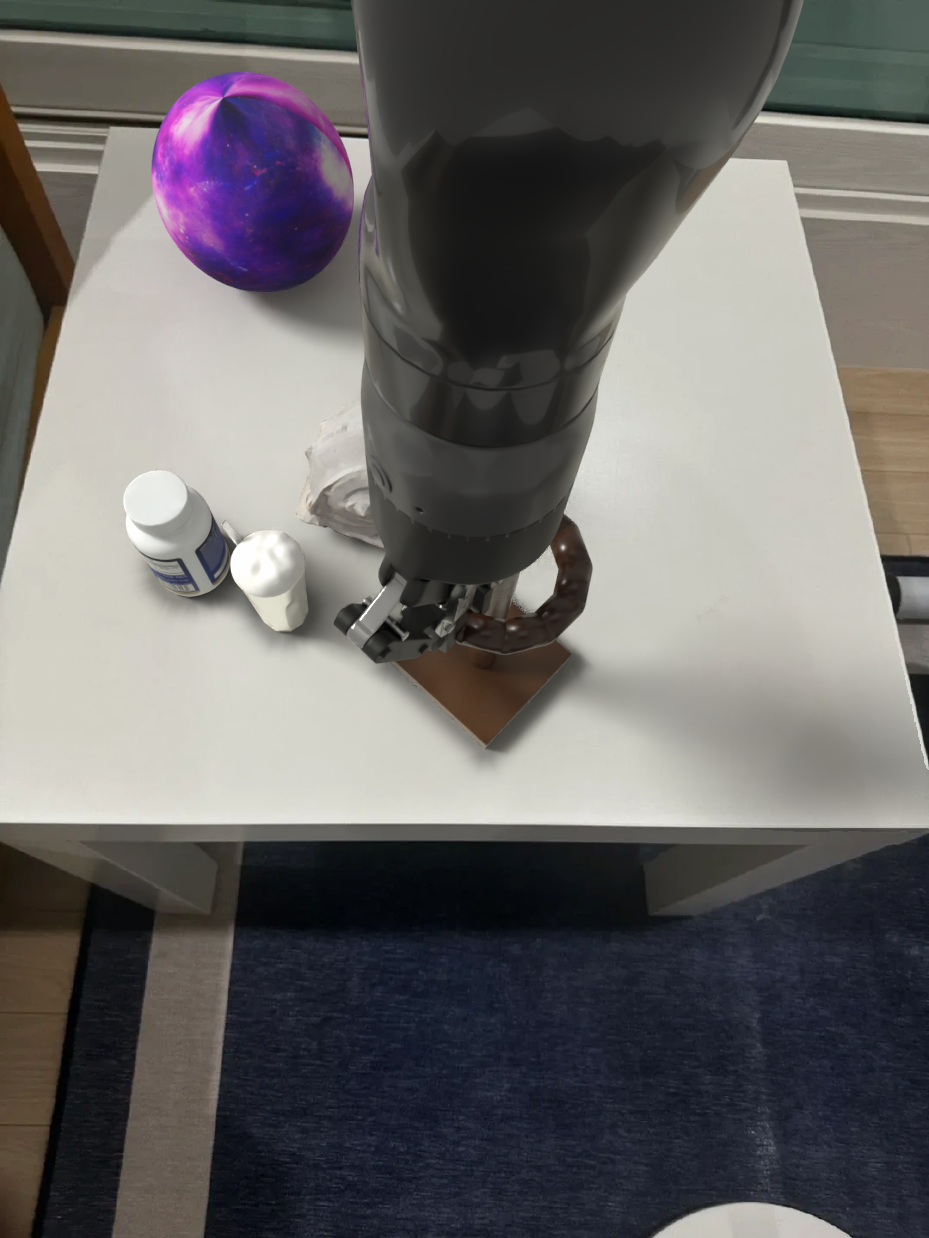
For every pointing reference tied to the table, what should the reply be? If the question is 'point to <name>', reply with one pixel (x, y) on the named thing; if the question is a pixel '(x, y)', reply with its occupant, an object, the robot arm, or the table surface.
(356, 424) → the seashell
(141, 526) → the pill bottle
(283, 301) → the table surface
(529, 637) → the ring
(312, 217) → the decorative orb
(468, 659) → the stand
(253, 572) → the milkshake
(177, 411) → the table surface
